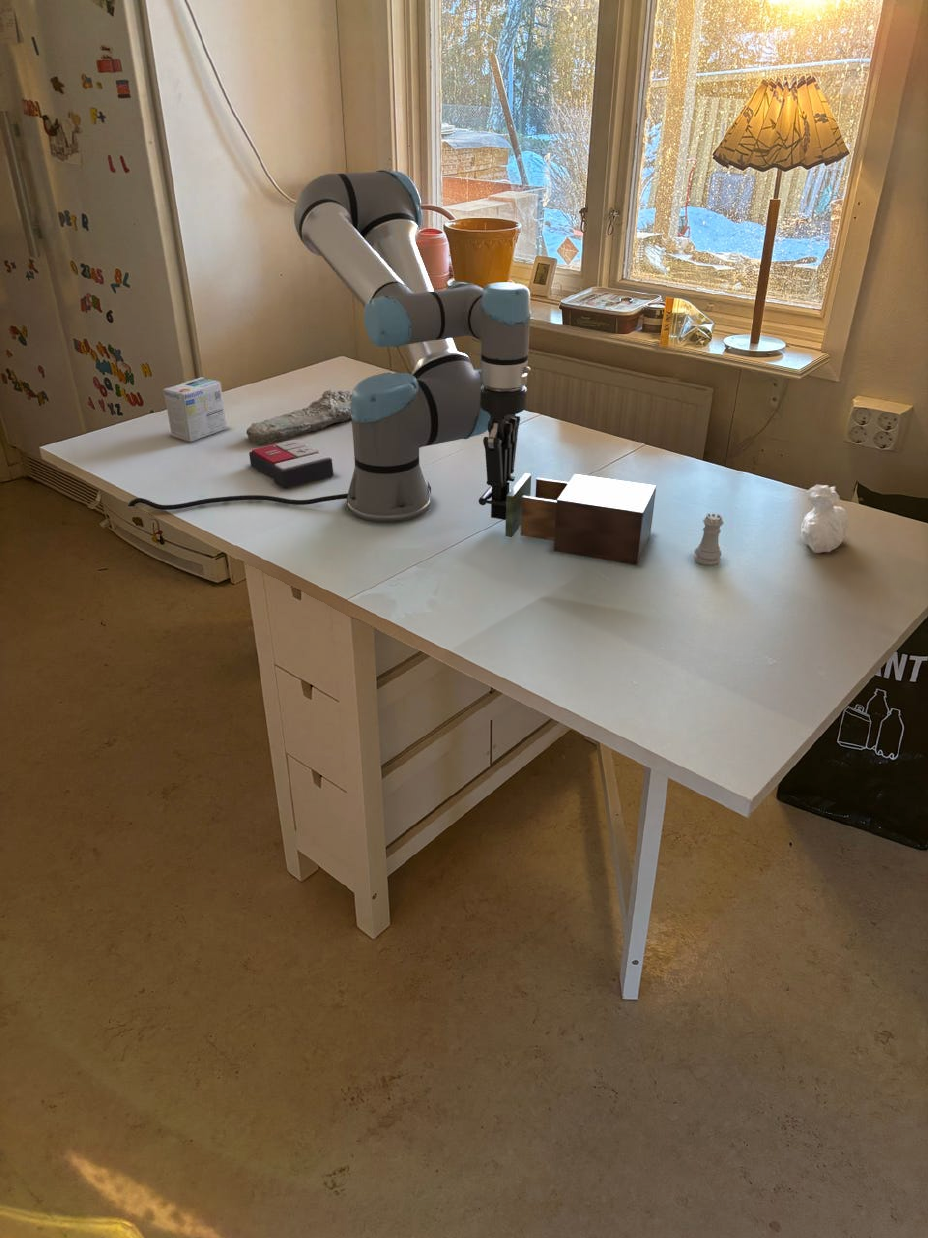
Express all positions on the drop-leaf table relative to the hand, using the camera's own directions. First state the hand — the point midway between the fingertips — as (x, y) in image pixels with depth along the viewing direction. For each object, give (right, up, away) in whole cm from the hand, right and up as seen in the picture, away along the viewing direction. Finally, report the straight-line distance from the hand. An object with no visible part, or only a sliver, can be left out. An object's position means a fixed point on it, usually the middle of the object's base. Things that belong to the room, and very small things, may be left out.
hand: (499, 516), depth 159 cm
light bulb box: (-65, +23, +41) cm, 80 cm away
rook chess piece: (+34, -8, -10) cm, 36 cm away
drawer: (+6, -2, -2) cm, 7 cm away
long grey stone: (-40, +26, +45) cm, 66 cm away
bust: (+54, -5, -5) cm, 55 cm away
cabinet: (+17, -5, -5) cm, 19 cm away
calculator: (-41, +11, +22) cm, 48 cm away
